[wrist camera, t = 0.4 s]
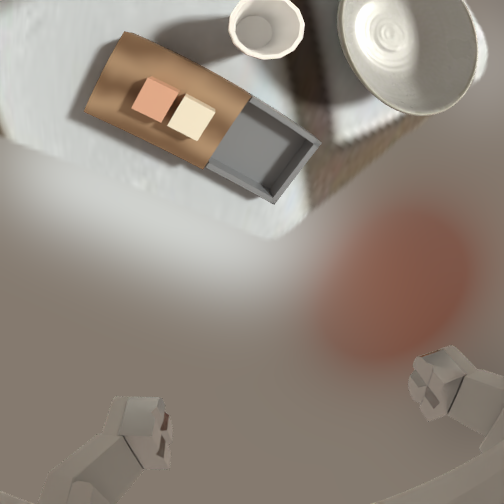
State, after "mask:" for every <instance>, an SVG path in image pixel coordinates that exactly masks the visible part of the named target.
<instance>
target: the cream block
mask: <svg viewBox="0 0 504 504" xmlns="http://www.w3.org/2000/svg"><path fill="white" fill-rule="evenodd" d="M214 114H215V109H214V108H212V107H211V106H209V105H207V104H205V103H203V102H201V101H200V100H198V99H196V98H194V97H192V96H190V95H188V94H186V95H185V96H184V98H183V100H182V101H181V103H180V105H179V106H178V108H177V110H176V111H175V113H174V115H173V117H172V118H171V120H170V122H169V124H168V125H167V126H169V127H170V128H172V129H174V130H176V131H178V132H180V133H182V134H184V135H186V136H188V137H190V138H192V139H194V140H196V141H198V139H199V138H200V136H201V135H202V133H203V131H204V130H205V128H206V127H207V125H208V123H209V122H210V120H211V119H212V117H213V116H214Z"/></svg>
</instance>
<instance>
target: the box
mask: <svg viewBox="0 0 504 504" xmlns="http://www.w3.org/2000/svg"><path fill="white" fill-rule="evenodd" d="M249 94H250V93H249ZM250 95H251V98H250V99H249V100H248V102H247V103H246V105H245V106H244V108H243V109H242V110H241V112H240V113H239V115H238V116H237V118H236V119H235V121H234V122H233V124H232V125H231V127H230V128H229V130H228V131H227V133H226V134H225V136H224V137H223V139H222V140H221V142H220V143H219V145H218V147H217V148H216V150H215V151H214V153H213V154H212V156H211V157H210V159H209V161H208V162H207V164H206V168H207V169H209V170H211V171H213V172H215V173H217V174H219V175H221V176H222V177H224V178H226V179H228V180H230V181H232V182H234V183H236V184H237V185H239V186H241V187H243V188H245V189H247V190H248V191H250V192H252V193H254V194H256V195H258V196H259V197H261V198H263V199H265V200H267V201H268V202H270V203H272V204H275V203H276V202H277V200H278V199H279V198H280V197H281V195H282V194H283V193H284V191H285V190H286V189H287V187H288V186H289V185H290V183H291V182H292V181H293V179H294V178H295V177H296V176H297V174H298V173H299V172H300V170H301V169H302V168H303V166H304V165H305V164H306V162H307V161H308V160H309V159H310V157H311V156H312V155H313V153H314V152H315V151H316V149H317V148H318V147H319V146H320V144H321V143H322V142H320V141H319V140H318V139H317V138H316V137H315V136H314V135H312V134H311V133H310V132H308V131H307V130H305V129H304V128H302V127H301V126H299V125H298V124H297V123H295V122H294V121H292V120H291V119H289V118H288V117H286V116H285V115H283V114H282V113H280V112H279V111H277V110H276V109H274V108H273V107H271V106H269V105H268V104H266V103H265V102H263V101H261V100H260V99H258V98H257V97H255V96H253V95H252V94H250Z"/></svg>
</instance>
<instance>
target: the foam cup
mask: <svg viewBox="0 0 504 504" xmlns="http://www.w3.org/2000/svg"><path fill="white" fill-rule="evenodd" d="M304 26H305V23H304V20H303V18H302V15H301V12H300V10H299V9H298V8H297V7H296V6H295V5H294V4H293V3H292V2H291V1H290V0H242V1H240V2H239V3H238V5H237V6H236V7H235V9H234V10H233V12H232V13H231V14H230V16H229V25H228V32H229V35H230V37H231V39H232V42H233V44H234V45H235V46H236V47H237V48H238V49H239V50H241V51H242V52H243V53H244V54H245V55H248V56H252V57H255V58H258V59H262V60H265V59H276V58H281V57H283V56H285V55H287V54H289V53H290V52H292V51H294V50H295V49H296V47H297V46H298V44H299V43H300V42H301V40H302V39H303V34H304Z"/></svg>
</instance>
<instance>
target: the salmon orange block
mask: <svg viewBox="0 0 504 504" xmlns="http://www.w3.org/2000/svg"><path fill="white" fill-rule="evenodd" d="M180 91H181V90H179V89H177V88H175V87H173V86H171V85H169V84H167V83H165V82H163V81H161V80H158V79H156V78H154V77H152V76H151V77H148V78H147V80H146V82H145V83H144V85H143V87H142V89H141V91H140V93H139V94H138V96H137V98H136V100H135V102H134V104H133V106H132V109H134V110H136V111H138V112H140V113H142V114H144V115H146V116H148V117H150V118H152V119H154V120H156V121H158V122H162V121H163V119H164V118H165V116H166V114H167V112H168V111H169V109H170V107H171V106H172V104H173V102H174V100H175V99H176V97H177V95H178V94H179V92H180Z"/></svg>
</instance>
